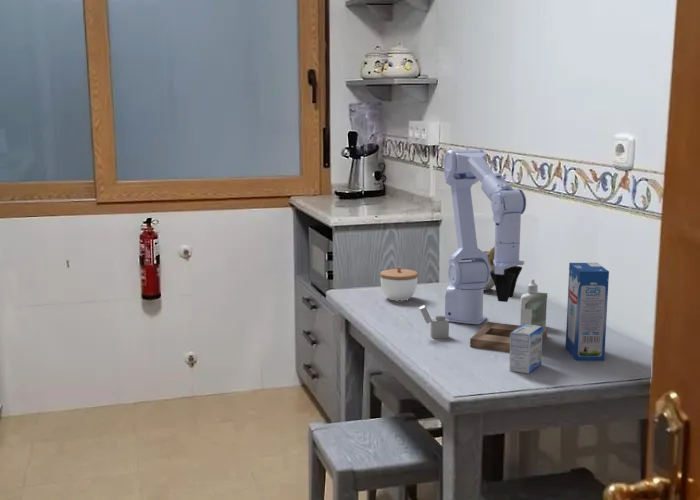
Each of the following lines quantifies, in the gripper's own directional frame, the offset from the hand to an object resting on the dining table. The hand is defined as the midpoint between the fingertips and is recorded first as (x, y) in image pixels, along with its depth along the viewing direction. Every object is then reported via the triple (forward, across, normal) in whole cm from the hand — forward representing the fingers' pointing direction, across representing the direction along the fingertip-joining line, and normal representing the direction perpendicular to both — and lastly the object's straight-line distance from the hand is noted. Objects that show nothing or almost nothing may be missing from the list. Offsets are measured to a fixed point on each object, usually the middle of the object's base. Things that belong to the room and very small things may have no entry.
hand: (505, 298), depth 195 cm
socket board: (+10, 0, 0) cm, 10 cm away
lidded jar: (+10, +30, +38) cm, 50 cm away
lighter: (+10, -4, +16) cm, 20 cm away
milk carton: (+10, -3, -19) cm, 22 cm away
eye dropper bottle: (+10, +16, -3) cm, 20 cm away
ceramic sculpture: (+10, +51, +18) cm, 55 cm away
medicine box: (+10, -18, -9) cm, 23 cm away
